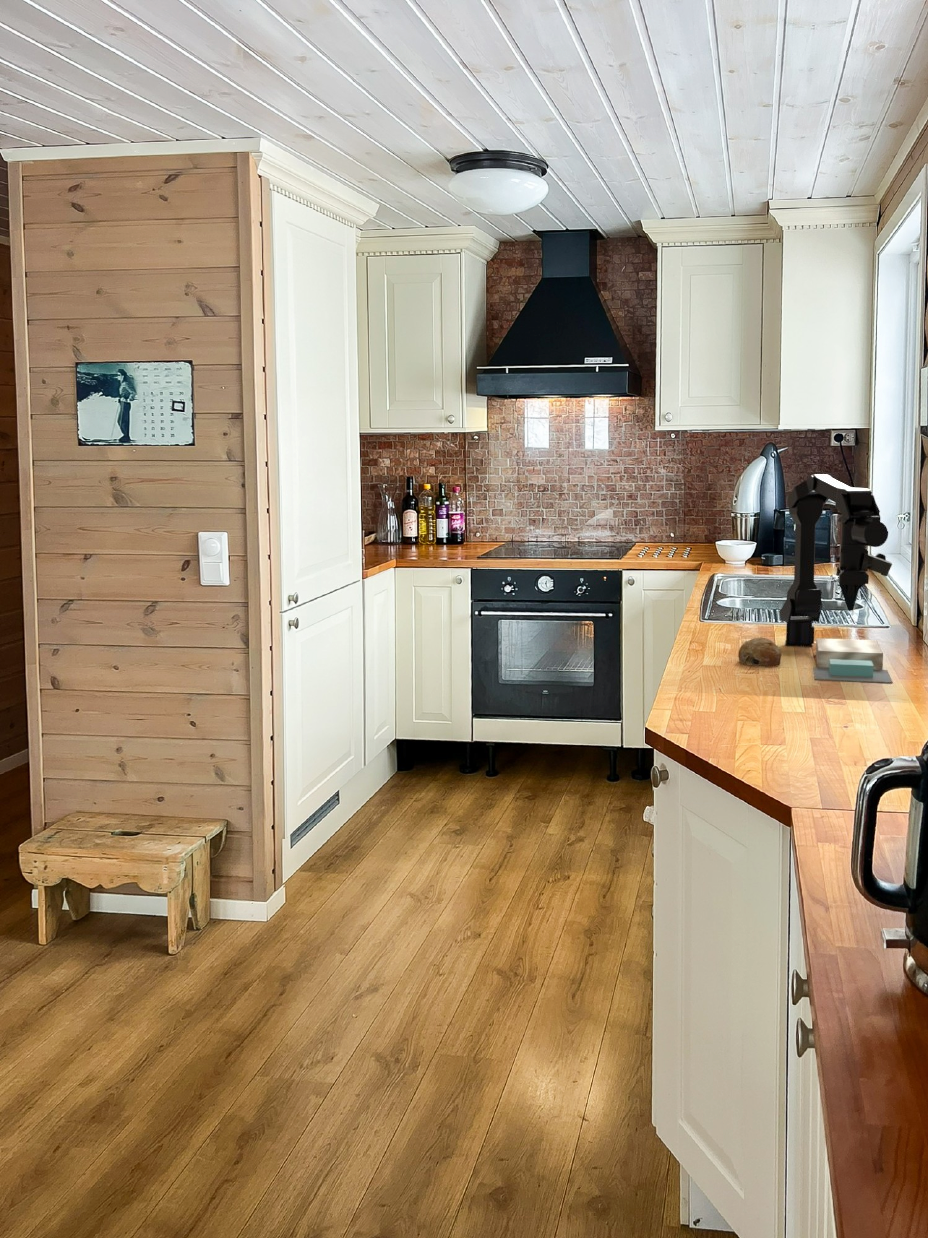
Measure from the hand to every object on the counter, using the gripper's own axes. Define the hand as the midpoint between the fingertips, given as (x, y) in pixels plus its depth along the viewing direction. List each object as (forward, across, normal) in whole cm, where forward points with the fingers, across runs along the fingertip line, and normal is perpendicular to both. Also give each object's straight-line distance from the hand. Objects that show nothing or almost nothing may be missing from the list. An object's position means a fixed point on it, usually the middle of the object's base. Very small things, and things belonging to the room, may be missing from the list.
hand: (850, 610), depth 268 cm
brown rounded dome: (+13, -3, +20) cm, 24 cm away
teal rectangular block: (+10, -13, 0) cm, 17 cm away
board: (+13, +2, 0) cm, 13 cm away
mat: (+13, -14, 0) cm, 19 cm away
